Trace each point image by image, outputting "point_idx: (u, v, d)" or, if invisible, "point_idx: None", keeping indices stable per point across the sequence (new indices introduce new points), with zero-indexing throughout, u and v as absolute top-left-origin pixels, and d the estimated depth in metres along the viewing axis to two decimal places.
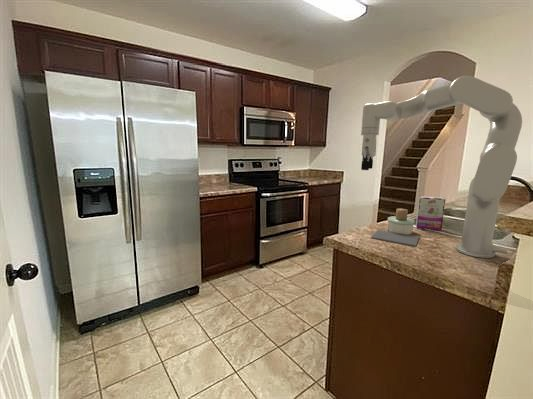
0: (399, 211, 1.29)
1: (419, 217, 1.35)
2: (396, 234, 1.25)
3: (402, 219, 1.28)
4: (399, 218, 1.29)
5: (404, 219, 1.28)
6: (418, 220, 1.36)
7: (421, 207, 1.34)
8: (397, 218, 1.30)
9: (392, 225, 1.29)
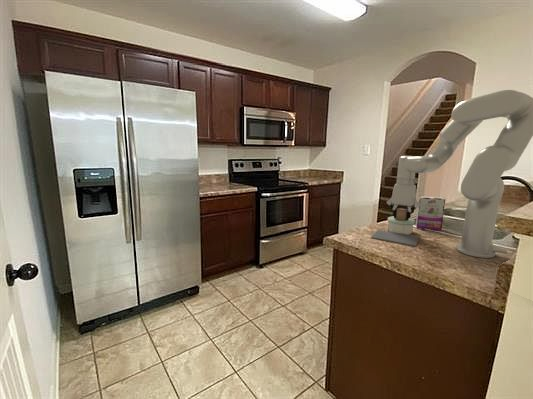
0: (399, 211, 1.29)
1: (419, 217, 1.35)
2: (396, 234, 1.25)
3: (402, 219, 1.28)
4: (399, 218, 1.29)
5: (404, 219, 1.28)
6: (418, 220, 1.36)
7: (421, 207, 1.34)
8: (397, 218, 1.30)
9: (392, 225, 1.29)
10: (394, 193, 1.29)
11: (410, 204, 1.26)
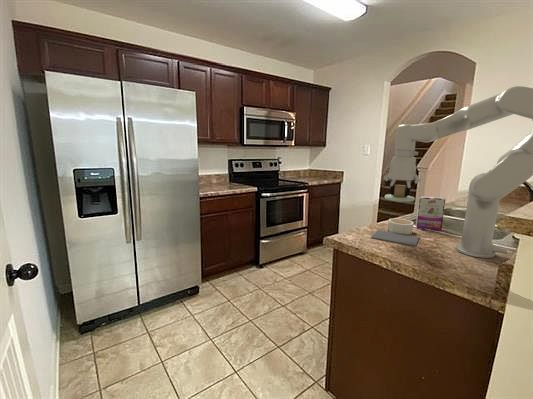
0: (397, 187, 1.16)
1: (419, 217, 1.35)
2: (396, 234, 1.25)
3: (400, 196, 1.16)
4: (397, 195, 1.16)
5: (403, 196, 1.16)
6: (418, 220, 1.36)
7: (421, 207, 1.34)
8: (395, 195, 1.17)
9: (392, 225, 1.29)
10: (392, 167, 1.16)
11: (409, 178, 1.13)
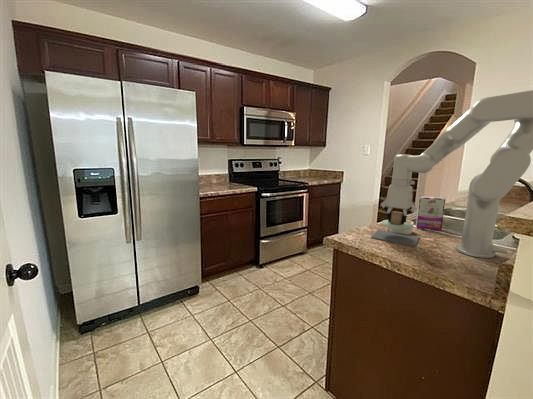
0: (394, 214, 1.19)
1: (419, 217, 1.35)
2: (396, 234, 1.25)
3: (397, 223, 1.18)
4: (394, 222, 1.19)
5: (399, 223, 1.18)
6: (418, 220, 1.36)
7: (421, 207, 1.34)
8: (392, 222, 1.20)
9: None
10: (389, 195, 1.19)
11: (406, 207, 1.15)
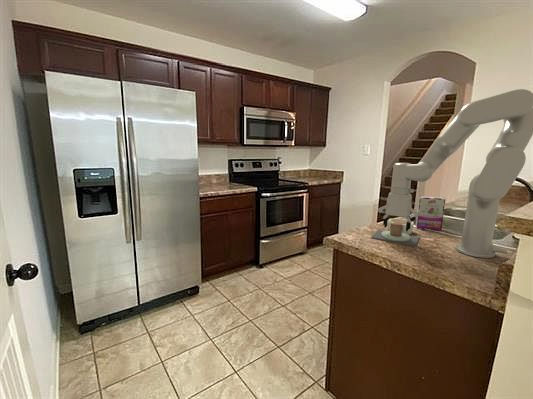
0: (393, 226, 1.19)
1: (419, 217, 1.35)
2: None
3: (397, 235, 1.19)
4: (393, 234, 1.20)
5: (399, 235, 1.19)
6: (418, 220, 1.36)
7: (421, 207, 1.34)
8: (391, 233, 1.21)
9: None
10: (388, 203, 1.19)
11: (405, 215, 1.16)
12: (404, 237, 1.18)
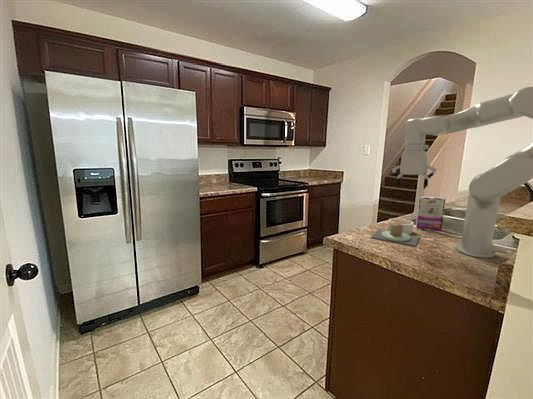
0: (393, 226, 1.19)
1: (419, 217, 1.35)
2: None
3: (397, 235, 1.19)
4: (393, 234, 1.20)
5: (399, 235, 1.19)
6: (418, 220, 1.36)
7: (421, 207, 1.34)
8: (391, 234, 1.21)
9: None
10: (403, 162, 1.16)
11: (422, 172, 1.13)
12: (404, 237, 1.18)
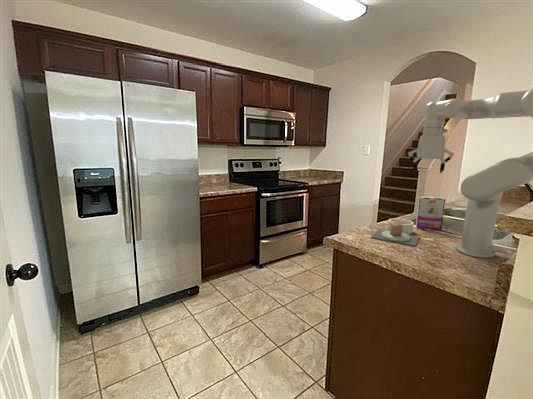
0: (393, 226, 1.19)
1: (419, 217, 1.35)
2: None
3: (397, 235, 1.19)
4: (393, 234, 1.20)
5: (399, 235, 1.19)
6: (418, 220, 1.36)
7: (421, 207, 1.34)
8: (391, 234, 1.21)
9: None
10: (420, 145, 1.16)
11: (439, 156, 1.13)
12: (404, 237, 1.18)
